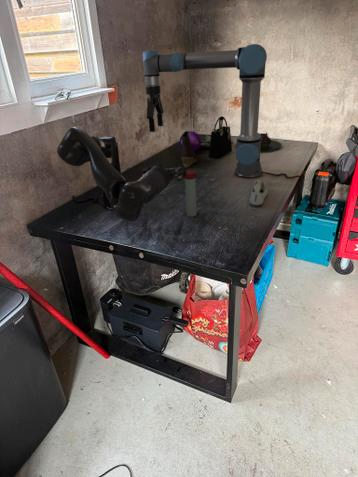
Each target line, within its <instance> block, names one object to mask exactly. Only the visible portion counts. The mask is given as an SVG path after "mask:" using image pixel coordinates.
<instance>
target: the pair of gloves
mask: <svg viewBox="0 0 358 477" xmlns="http://www.w3.org/2000/svg"><path fill="white" fill-rule="evenodd" d="M210 140H211V135H207V134H206V135H205V138H204V140H201V145H200V148H199V149H198V150H200V149H204V148H210ZM231 144H232V145H233V144H234V141H233V140H231Z"/></svg>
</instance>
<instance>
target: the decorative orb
mask: <svg viewBox="0 0 358 477" xmlns="http://www.w3.org/2000/svg"><path fill="white" fill-rule="evenodd" d="M187 131H188V132H189V137H190V142H191V145H192V149H193V152H195V153H196V152H197V151H198V150H200V149H199V148H200V145H201V141H202V140H201V137H200V135H199V134H198V133H197V132H195V131H192V130H187ZM181 138H182V135H181V136H180V138H179V140H178V141H179V142H178V143H179V148H180V149H181V150H182V140H181Z"/></svg>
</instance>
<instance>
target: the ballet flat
mask: <svg viewBox="0 0 358 477" xmlns="http://www.w3.org/2000/svg"><path fill="white" fill-rule="evenodd" d="M268 194H269V189H268V186H267V183H266V182H265V181H264V180H262V179H257V180H255V181H254V182H253V184H252V187H251V190H250V196H249V204H250V205H251V206H252V207H260V206H261V205H263V203H264V201H265V198H266V196H267V195H268Z"/></svg>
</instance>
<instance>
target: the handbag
mask: <svg viewBox="0 0 358 477" xmlns="http://www.w3.org/2000/svg"><path fill="white" fill-rule="evenodd" d="M223 123H225V126H223ZM217 125H218V128H217ZM216 128H217V129H216ZM210 136H211V140H210V144H209V145H210V147H209V151H208V157H209V158H212V159H213V158H214V159H222V158H223V157H225V156H227V155H228V154H230V153H231V152H233V147H232V146H233V144H231V141H232V133H231V126H228V122H227V119H226V118H225V116H221V115H220V116H219V117H218V118H217V120H216V121H215V124H214V128H213V129H212V131H211V132H210Z"/></svg>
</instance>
